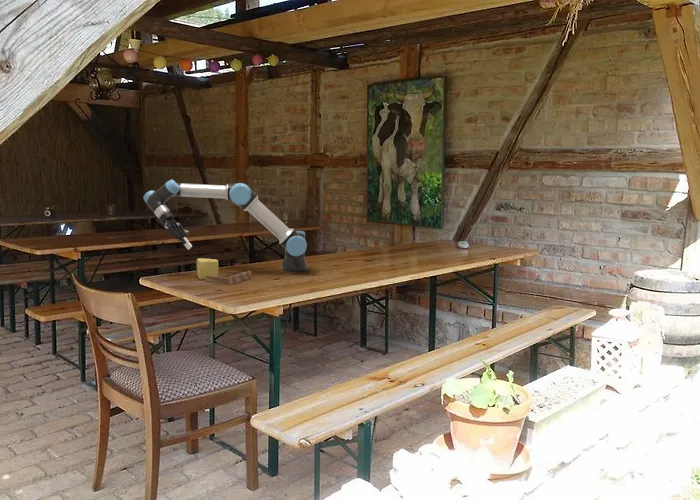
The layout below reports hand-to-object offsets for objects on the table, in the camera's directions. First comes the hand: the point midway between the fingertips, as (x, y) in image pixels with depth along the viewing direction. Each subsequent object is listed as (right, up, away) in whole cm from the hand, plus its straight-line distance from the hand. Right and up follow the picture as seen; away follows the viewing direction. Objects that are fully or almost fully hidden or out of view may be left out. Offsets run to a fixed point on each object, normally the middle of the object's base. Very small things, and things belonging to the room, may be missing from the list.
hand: (190, 247), depth 330 cm
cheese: (+10, -16, -2) cm, 19 cm away
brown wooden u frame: (+22, -17, -6) cm, 28 cm away
